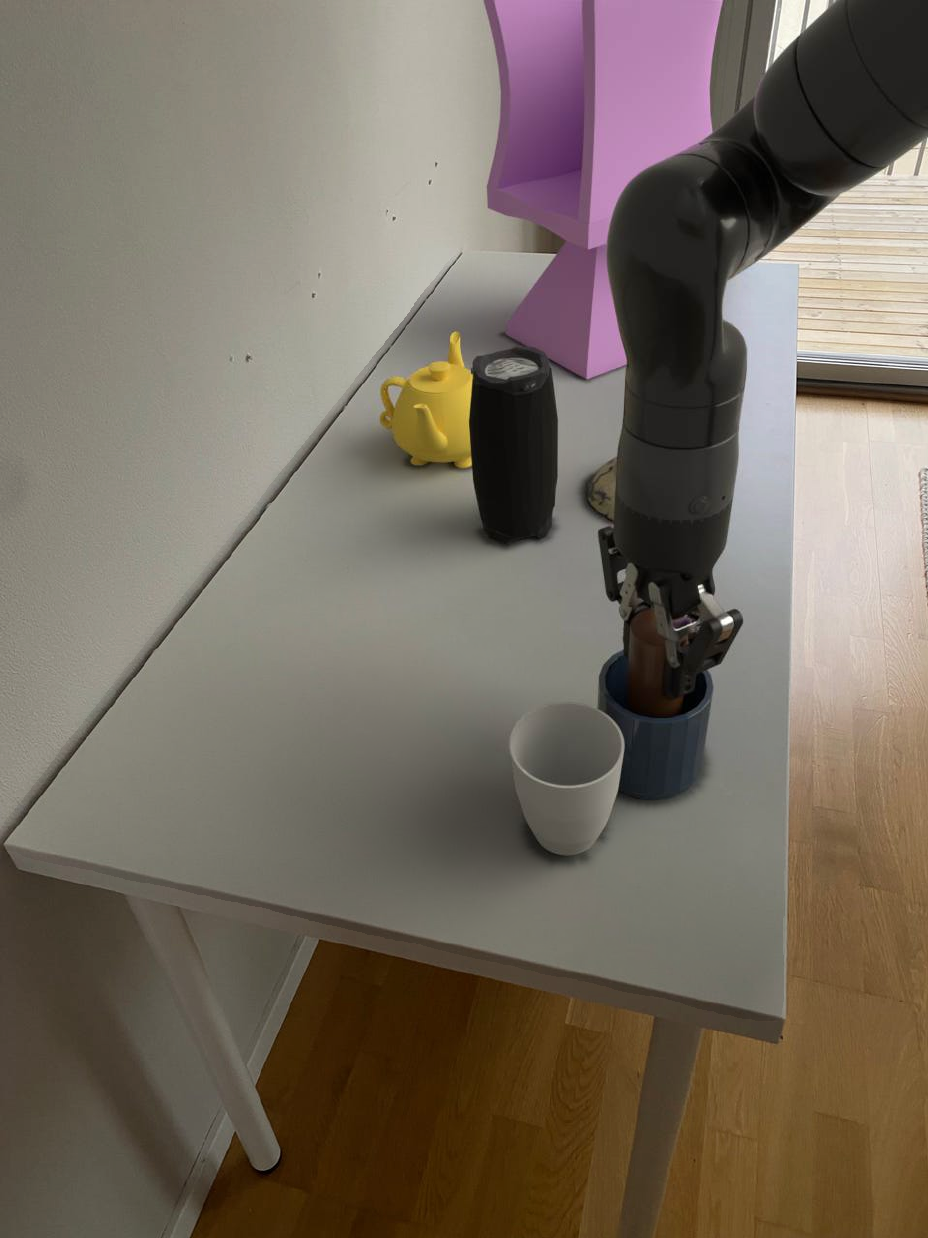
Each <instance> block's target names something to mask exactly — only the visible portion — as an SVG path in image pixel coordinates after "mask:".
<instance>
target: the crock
mask: <svg viewBox="0 0 928 1238" xmlns="http://www.w3.org/2000/svg"><path fill="white" fill-rule="evenodd" d="M627 668H628V658H627V657H626V656H625V655H624V654H623V649H621V650H619V651H617V652H615V653H614V654H612V655H610V657H609V658H608V659H607V660H606V661H605V662H604V664H602V667H601V670H600V672H599V674H598V684H597V685H598V687H597V688H598V689H597V691H598V692H597V709H599V710H600V711H602V712H604V713H605V714H607V715H608V716H609V717H610V718H612V719H613V720H614V722H615V723H616V724H617V725H618V727H619V728H620V730H621V732H622V735H623V738H624V755H623V761H622V768H621V774H620V780H619V787H618V791H619V792H620V793H622V794H624V795H627V796H630V797H633V798H638V799H641V800H650V801H651V800H653V801H655V800H664V799H670V798H674V797H676V796H678V795H680V794H682V793H684V792H686V791H688V789H689V788H691V787H692V786H693V785H694V784H695V783H696V781H697V780H698V778H699V776H700V773H701V770H702V764H703V762H704V761H703V760H704V754H705V748H706V741H707V735H708V728H709V721H710V714H711V709H712V702H713V695H714V689H715V687H714V683H713V678H712V675H711V674H712V673H710V672H709V669H708V670H706V671H703V672H701V673H699V674H697V675H696V681H695V688H694V690H693V691H692V692H691V693H688V694H686V695H684V696H683V704H682V712H681V715H679V716H675V717H671V718H650V717H645V716H641V715H636V714H634V713H632V712H630V711H628V710H626V709H625V697H626V683H627Z"/></svg>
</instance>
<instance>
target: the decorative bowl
mask: <svg viewBox="0 0 928 1238" xmlns="http://www.w3.org/2000/svg"><path fill="white" fill-rule="evenodd" d="M616 468H617V456H615V457H613V458H612V459H610V460H609V461H607V462H606V463H605V464H604V465H602V466H601V467H600V468H599V469H598V470H597V471H596V472H595V473H594V475H593V476H592V477H591V478H590V479H589V481H588V483H587V486H586V489H585V490H586V492H587V494H586V495H587V500H588V502H589V504H590V505H591V506H592V507H593V508H594V509H595V510H596V512H597V513H600V514H602V515H604V516H606V515H607V516H606V517H607V518H608V519H610V520H612V521H614V507H615V487H616Z"/></svg>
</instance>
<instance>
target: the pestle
mask: <svg viewBox="0 0 928 1238" xmlns="http://www.w3.org/2000/svg"><path fill="white" fill-rule="evenodd" d="M683 617H686V616H683ZM683 617H681V618H683ZM681 618H679V619H681ZM676 620H678V619H674V620H672V622H674V621H676ZM687 644H688V635H686V636H684V637H682V638H681V640H680V647H682V646H684V645H687ZM665 660H667V656H666V648H665V640H664V638H663V637H661V636H659V635H658V633H657V626H656V618H655V610H654V608H652V609H647V610H644V611H642V612H640V613H638V614H637V615H636V616H635V617H634V618H633V619H632V621H631V625H630V639H629V653H628V668H627V683H626V697H625V709H626V710H628V711H630V712H632V713H634V714H636V715H641V716H645V717H650V718H671V717H675V716H679V715H681V712H682V704H683V696H682V697H679V698H677V699H674V700H668V699H667V698H666V697H665V696H664V695H663V694H662V689H663V680H664V670H665Z"/></svg>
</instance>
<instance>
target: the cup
mask: <svg viewBox="0 0 928 1238" xmlns="http://www.w3.org/2000/svg"><path fill="white" fill-rule="evenodd" d="M509 750H510V751H509V752H510V759H511V765H512V773H513V779H514V780H513V781H514V786H515V791H516V795H517V796H518V800H519V803H520V806H521V810H522V813H523V816H524V819H525V821H526V824H527V825H528V826H529V829H530V830H531V832H532V833H533V835H534V837H535V838H536V841H538V844H540V846H542V847H543V848H544V849H545V850H547V851H548V852H550V853H553V854H556V855H560V856H576V855H579V854H582V853H585V852H587V851H588V850H589V849H590V848H592V847H593V845H595V843H596V842H597V840H598V838H599V837H600V835H601V833H602V832H603V830H604V829H605V827H606V826H607V824H608V821H609V818H610V816H611V813H612V810H613V806H614V803H615V801H616V798H617V795H618V791H619V790H618V787H619V780H620V774H621V768H622V761H623V755H624V738H623V735H622V732H621V730H620V728H619V727H618V725H617V724H616V723H615V722H614V720H613V719H612V718H610V717H609V716H608V715H607V714H605V713H604V712H602V711H600V710H599V709H598V707H597V708H596V707H594V706H592V705H588V704H586V703H581V702H575V701H558V702H557V701H556V702H551V703H547V704H544V705H540V706H537V707H535V708H533V709H532V710H530V711H528V712H527V713H526V714H524V715H523V716H522V717H521V718H520V719H519V720H518V721H517V722H516V724H515V725H514V727H513V729H512V731H511V734H510V737H509Z"/></svg>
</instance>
